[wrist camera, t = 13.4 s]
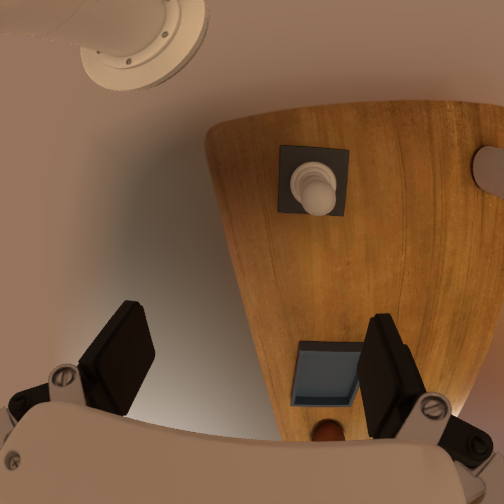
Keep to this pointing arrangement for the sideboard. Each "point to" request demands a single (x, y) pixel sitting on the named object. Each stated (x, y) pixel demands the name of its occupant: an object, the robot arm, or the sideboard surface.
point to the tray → (326, 374)
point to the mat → (299, 155)
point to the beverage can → (490, 170)
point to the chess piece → (314, 187)
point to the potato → (328, 433)
